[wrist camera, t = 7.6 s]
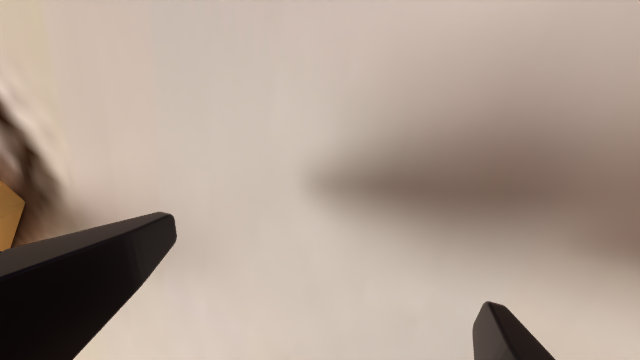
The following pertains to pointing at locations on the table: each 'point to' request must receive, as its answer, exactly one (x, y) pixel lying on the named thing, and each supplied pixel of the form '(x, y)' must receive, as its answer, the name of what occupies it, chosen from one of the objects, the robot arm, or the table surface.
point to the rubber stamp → (9, 215)
